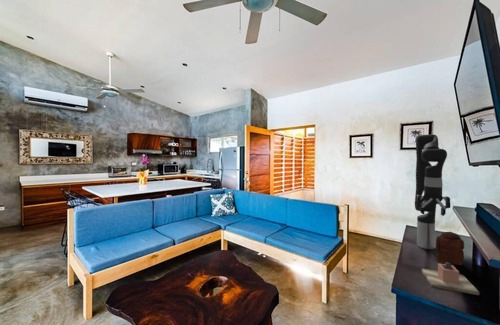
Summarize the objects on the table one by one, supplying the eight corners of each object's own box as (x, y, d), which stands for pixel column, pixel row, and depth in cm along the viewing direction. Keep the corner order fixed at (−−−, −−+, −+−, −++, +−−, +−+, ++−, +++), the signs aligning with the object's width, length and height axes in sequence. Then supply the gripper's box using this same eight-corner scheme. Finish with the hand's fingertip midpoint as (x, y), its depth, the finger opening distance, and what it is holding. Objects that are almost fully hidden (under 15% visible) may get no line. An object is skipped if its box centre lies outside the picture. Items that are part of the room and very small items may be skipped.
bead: (437, 274, 109) (437, 263, 108) (452, 277, 106) (453, 265, 106) (442, 281, 103) (443, 269, 103) (458, 284, 101) (459, 271, 101)
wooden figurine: (456, 260, 124) (457, 230, 123) (465, 266, 118) (466, 234, 117) (433, 258, 127) (433, 229, 126) (440, 264, 121) (440, 233, 120)
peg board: (421, 271, 115) (422, 254, 114) (462, 277, 108) (463, 259, 107) (431, 286, 102) (432, 267, 101) (479, 295, 95) (479, 274, 95)
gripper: (446, 184, 116) (446, 214, 117) (414, 183, 122) (414, 211, 122) (453, 187, 109) (452, 218, 110) (419, 186, 115) (418, 215, 116)
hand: (432, 214), depth 116 cm, fingers open, 8 cm apart
